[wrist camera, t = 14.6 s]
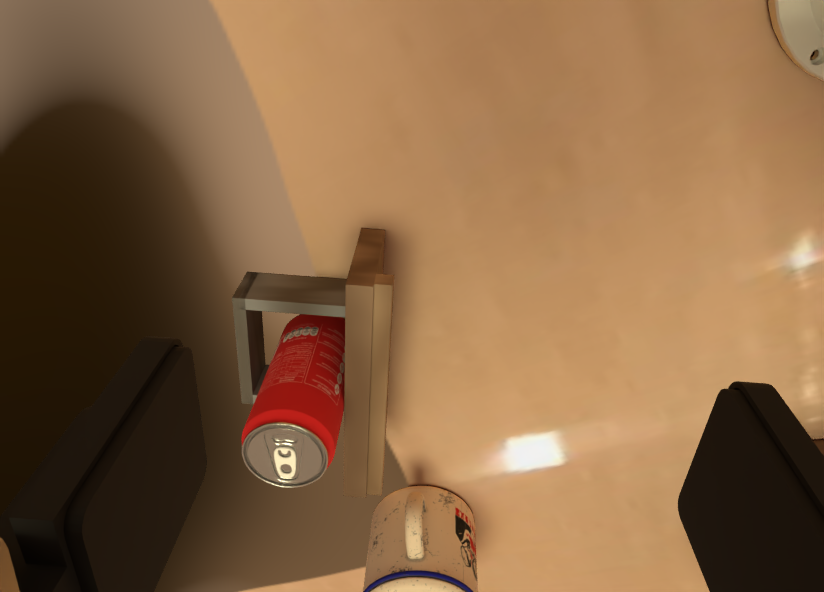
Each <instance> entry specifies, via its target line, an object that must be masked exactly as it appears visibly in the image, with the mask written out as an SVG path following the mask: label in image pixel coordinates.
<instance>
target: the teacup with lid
mask: <svg viewBox="0 0 824 592" xmlns="http://www.w3.org/2000/svg"><path fill="white" fill-rule="evenodd" d="M363 592H478V583H477V563H476V543H475V523H474V517H473V514H472V512H471V510H470V508H469V507H468V506H467V504H466V503H465V502H464V501H463V500H462V499H460V498H459V497H458V496H456V495H455V494H453V493H451V492H449V491H446V490H444V489H441V488H437V487H431V486H411V487H406V488H402V489H399V490H397V491H394V492H392V493H391V494H389V495H387V496H386V497H385V498H383V499H382V500H381V501H380V503H379V504H378V505H377V507H376V508H375V510H374V513H373V517H372V524H371V532H370V540H369V548H368V556H367V564H366V572H365V580H364V588H363Z"/></svg>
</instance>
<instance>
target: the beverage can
mask: <svg viewBox="0 0 824 592" xmlns="http://www.w3.org/2000/svg"><path fill="white" fill-rule="evenodd" d="M344 394H345V319H344V318H343V317H333V316H320V315H307V314H300V315H299V316H296V317H295V318H293V319H292V320H291V321H290V322H289V323H288V324H287V325H286V327H285V329H284V331H283V333H282V336H281V338H280V341H279V343H278V346H277V348H276V351H275V353H274V355H273V358H272V360H271V363H270V365H269V368H268V370H267V373H266V375H265V378H264V380H263V383H262V385H261V388H260V390H259V393H258V395H257V397H256V400H255V402H254V405H253V407H252V410H251V412H250V415H249V417H248V420H247V422H246V425H245V427H244V430H243V433H242V456H243V460H244V462H245V464H246V466H247V467H248V469H249V470H250V471H251V472H252V473H253V474H254V475H255V476H257V477H258V478H260V479H261V480H263V481H265V482H267V483H270V484H272V485H275V486H280V487H289V488H293V487H302V486H306V485H309V484H311V483H313V482H315V481H316V480H318V479H319V478H321V477H322V475H323V474H324V472H325V470H326V469H327V468H328V467H329V465H330V463H331V462H332V460H333V457H334V454H335V449H336V444H337V440H338V435H339V430H340V425H341V421H342V416H343V411H344Z"/></svg>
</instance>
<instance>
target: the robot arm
mask: <svg viewBox="0 0 824 592" xmlns="http://www.w3.org/2000/svg"><path fill="white" fill-rule="evenodd" d="M768 7H769V12H770V17H771V22H772V26H773V30H774V32H775V34H776V36H777V38H778V40H779V43H780V45H781V47H782V48H783V50H784V51H785V52H786V53H787V55H788V56H789V57H790V58H791V60H792V61H793V62H794V63H795V64H796V65H797V66H799V67H800V68H801V69H803V70H804V71H805V72H807V73H808V74H809V75H811V76H813V77H816V78H818V79H820V80H822V81H824V0H768ZM814 50H815V54H814V55H813V57H811V58H810V56H811V54H812V52H813V51H814ZM206 459H207V458H206V450H205V443H204V436H203V428H202V421H201V414H200V406H199V399H198V393H197V384H196V377H195V370H194V363H193V356H192V351H191V349H190V348H188V347H183V346H182V343H181V341H180V340H179V339H176V338H164V337H150V336H147V337H144V338H143V339H142V340H141V341H140V342H139V344H138V345H137V346H136V348H135V349H134V350H133V352H132V353H131V354H130V356H129V357H128V358H127V360H126V361H125V362H124V364H123V365H122V366H121V368H120V369H119V371H118V372H117V373H116V375H115V376H114V377H113V378H112V380H111V381H110V382H109V384H108V385H107V386H106V388H105V389H104V391H103V392H102V393H101V395H100V396H99V397H98V399H97V400H96V401H95V403H94V404H93V405H92V407H88V408H85V409H83V410H82V411H81V412H80V413H79V415H77V416H76V418H75V419H74V420H73V422H72V423H71V424H70V426H69V427H68V428H67V430H66V431H65V432H64V434H63V435H62V436H61V438H60V439H59V440H58V441H57V443H56V444H55V445H54V447H53V448H52V449H51V451H50V452H49V453H48V455H47V456H46V457H45V458H44V460H43V461H42V462H41V464H40V465H39V466H38V468H37V469H36V471H35V472H34V473H33V474H32V476H31V477H30V478H29V480H28V481H27V482H26V483H25V485H24V486H23V487H22V489H21V490H20V491H19V493H18V494H17V495H16V497H15V498H14V499H13V500H12V502H11V503H10V504H9V506H8V507H7V508H6V510H5V511H4V512H3V514H2V515H1V516H0V592H154V590H155V588H156V586H157V583H158V581H159V579H160V577H161V574H162V572H163V569H164V567H165V565H166V563H167V561H168V558H169V556H170V554H171V552H172V549H173V547H174V545H175V543H176V540H177V538H178V536H179V533H180V531H181V529H182V527H183V525H184V522H185V520H186V518H187V515H188V513H189V511H190V509H191V506H192V504H193V502H194V499H195V497H196V495H197V493H198V491H199V488H200V486H201V484H202V481H203V479H204V476H205V472H206V465H207V460H206ZM678 511H679V516H680V519H681V521H682V524H683V526H684V529H685V531H686V534H687V536H688V539H689V541H690V544H691V546H692V549H693V551H694V554H695V556H696V558H697V561H698V563H699V566H700V568H701V571H702V573H703V576H704V578H705V581H706V583H707V586H708V588H709V591H710V592H824V455H823V454H822V453H821V451H820V450H819V449H818V447H817V446H816V444H815V443H814V442H813V440H812V439H811V438H810V436H809V435H808V433H807V432H806V431H805V429H804V428H803V426H802V425H801V424H800V422H799V421H798V420H797V418H796V417H795V415H794V414H793V413H792V411H791V410H790V409H789V407H788V406H787V404H786V403H785V402H784V400H783V399H782V397H781V396H780V395H779V393H778V392H777V391H776V389H775V388H774V387H773V386H772V385H769V384H764V383H750V382H733V383H732V384H731V385H730V386H729V388H728V389H722V390H721V391H720V392H719V394H718V396H717V398H716V401H715V404H714V406H713V409H712V411H711V414H710V417H709V419H708V422H707V424H706V427H705V430H704V432H703V435H702V437H701V440H700V443H699V445H698V448H697V450H696V453H695V456H694V458H693V461H692V463H691V466H690V469H689V471H688V474H687V476H686V479H685V482H684V484H683V487H682V489H681V492H680V495H679V498H678Z"/></svg>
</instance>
